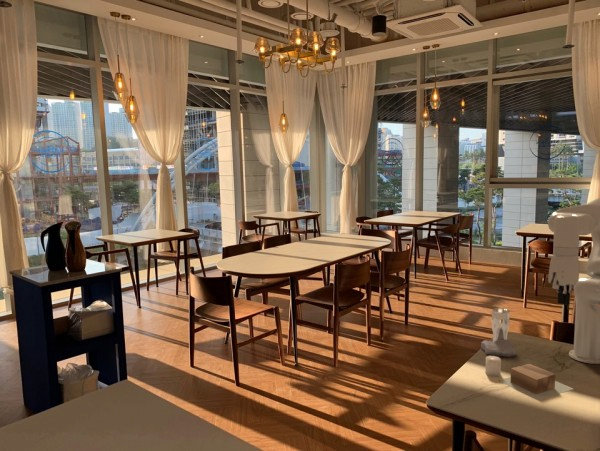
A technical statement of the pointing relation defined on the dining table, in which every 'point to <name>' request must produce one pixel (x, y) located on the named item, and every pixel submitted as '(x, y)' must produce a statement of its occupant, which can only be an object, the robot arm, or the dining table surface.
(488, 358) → the white rounded cylinder
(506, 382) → the mat
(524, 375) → the block
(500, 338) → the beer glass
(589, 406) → the dining table surface
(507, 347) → the stone block
